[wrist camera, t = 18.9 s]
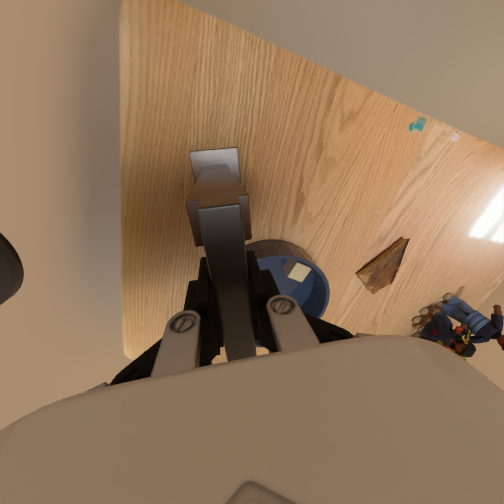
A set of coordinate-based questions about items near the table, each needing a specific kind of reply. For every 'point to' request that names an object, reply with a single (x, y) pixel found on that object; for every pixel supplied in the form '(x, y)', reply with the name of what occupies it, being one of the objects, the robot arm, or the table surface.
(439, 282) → the table surface
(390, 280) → the shard
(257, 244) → the bowl
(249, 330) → the stirring stick
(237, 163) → the stick stand
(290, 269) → the cream block
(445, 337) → the doll family
